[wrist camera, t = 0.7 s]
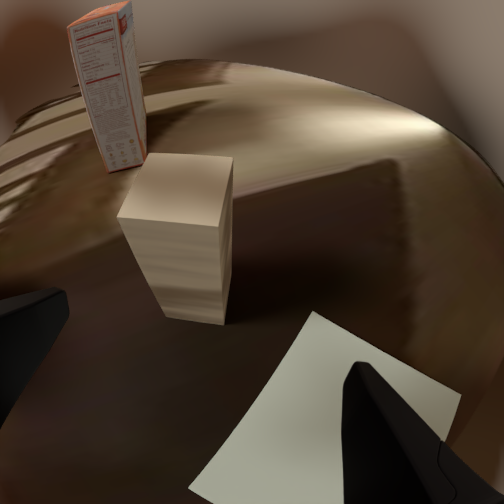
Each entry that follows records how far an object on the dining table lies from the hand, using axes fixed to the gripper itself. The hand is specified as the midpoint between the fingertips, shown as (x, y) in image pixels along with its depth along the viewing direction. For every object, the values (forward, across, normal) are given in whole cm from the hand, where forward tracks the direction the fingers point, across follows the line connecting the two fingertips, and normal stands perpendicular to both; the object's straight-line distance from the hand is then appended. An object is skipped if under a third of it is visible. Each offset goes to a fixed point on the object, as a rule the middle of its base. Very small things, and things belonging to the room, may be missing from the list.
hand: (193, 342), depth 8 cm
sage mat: (+6, -11, +14) cm, 19 cm away
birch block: (+15, +4, +8) cm, 18 cm away
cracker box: (+32, +21, -3) cm, 39 cm away
